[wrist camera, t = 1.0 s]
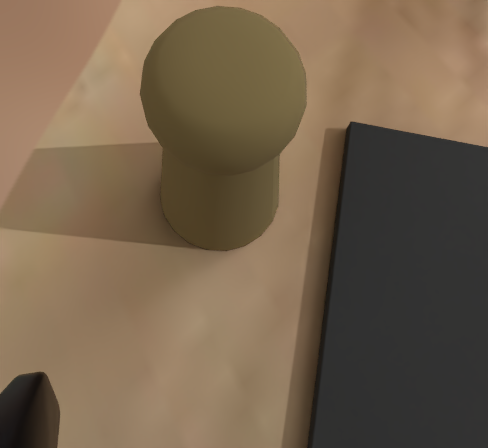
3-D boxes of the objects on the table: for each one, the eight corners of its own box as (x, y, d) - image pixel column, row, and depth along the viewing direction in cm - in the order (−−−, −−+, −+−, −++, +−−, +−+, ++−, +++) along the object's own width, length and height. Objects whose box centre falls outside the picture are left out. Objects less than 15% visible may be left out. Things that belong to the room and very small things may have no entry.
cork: (135, 187, 23) (71, 47, 13) (224, 117, 25) (232, -61, 14) (215, 276, 22) (216, 202, 12) (303, 197, 24) (375, 69, 13)
